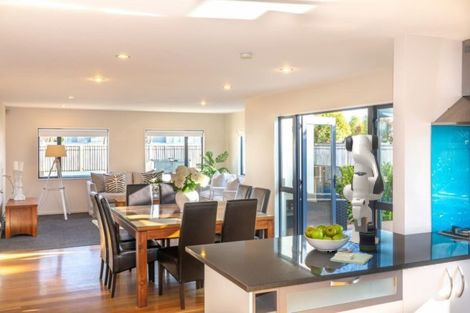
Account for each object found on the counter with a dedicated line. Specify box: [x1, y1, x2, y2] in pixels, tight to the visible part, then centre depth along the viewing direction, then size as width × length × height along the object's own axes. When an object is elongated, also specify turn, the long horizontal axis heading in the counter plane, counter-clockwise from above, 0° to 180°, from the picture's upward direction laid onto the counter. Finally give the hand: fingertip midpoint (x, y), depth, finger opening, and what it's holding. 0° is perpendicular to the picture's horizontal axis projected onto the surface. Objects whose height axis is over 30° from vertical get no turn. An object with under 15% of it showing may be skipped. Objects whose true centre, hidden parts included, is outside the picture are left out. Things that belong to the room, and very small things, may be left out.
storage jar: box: [358, 225, 377, 254], centre depth 264 cm, size 10×10×15 cm
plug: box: [354, 217, 368, 232], centre depth 248 cm, size 4×6×8 cm, turn 59°
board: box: [329, 247, 373, 266], centre depth 246 cm, size 20×18×4 cm
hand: (361, 225), depth 248 cm, fingers closed on plug, 4 cm apart
